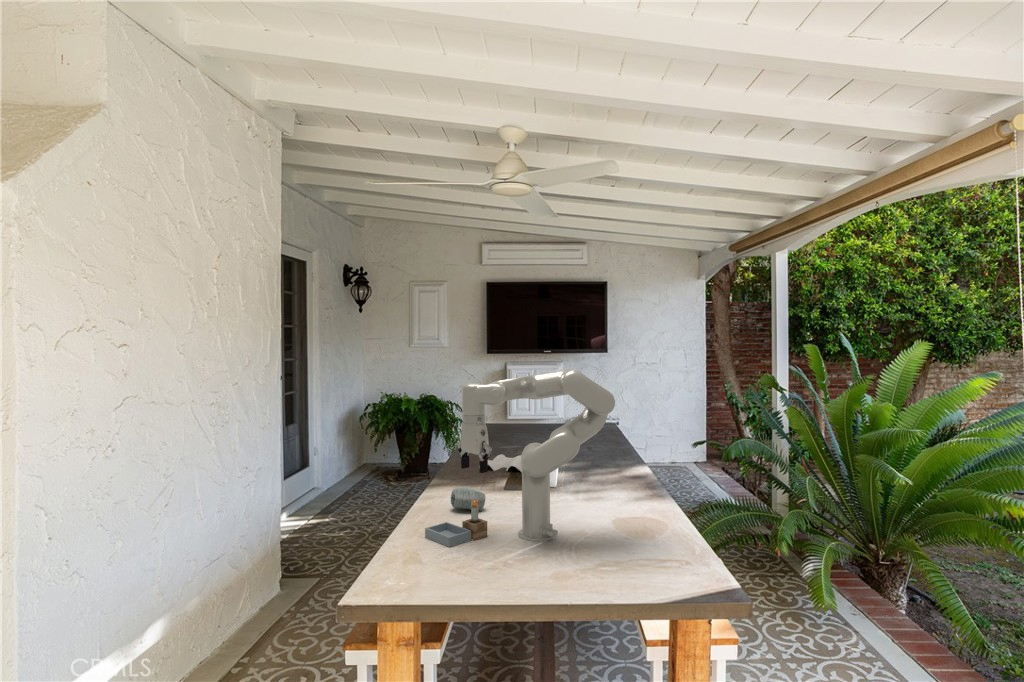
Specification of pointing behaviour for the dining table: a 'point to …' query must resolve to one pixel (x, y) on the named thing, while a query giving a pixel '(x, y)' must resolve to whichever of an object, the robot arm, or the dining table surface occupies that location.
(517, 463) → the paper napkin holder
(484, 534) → the brown wooden socket block
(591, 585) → the dining table surface
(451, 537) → the tray
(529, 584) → the dining table surface
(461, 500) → the spool
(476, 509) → the lock pin
